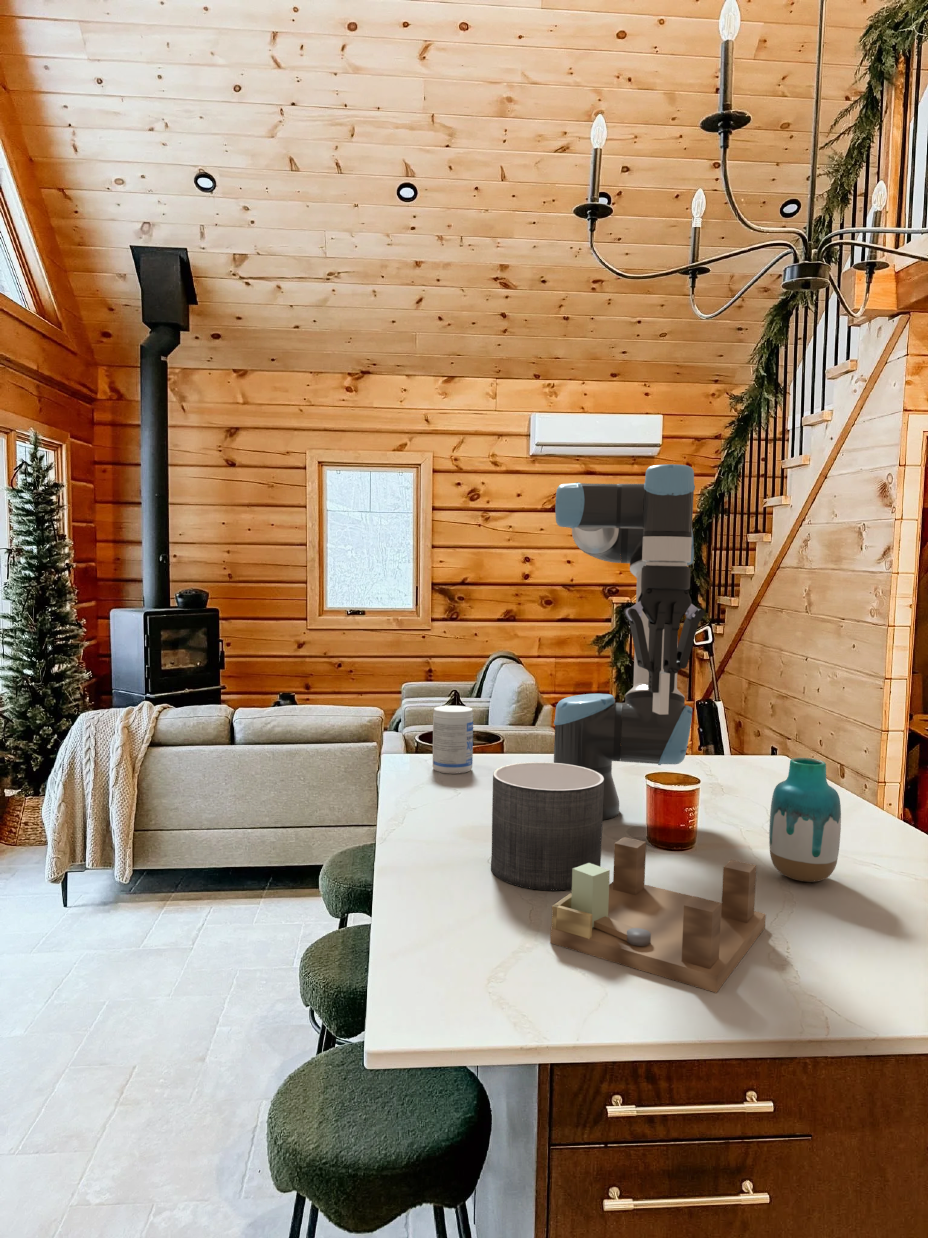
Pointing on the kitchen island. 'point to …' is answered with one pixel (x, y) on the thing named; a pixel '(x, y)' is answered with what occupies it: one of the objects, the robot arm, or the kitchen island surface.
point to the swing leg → (601, 903)
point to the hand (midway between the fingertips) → (660, 712)
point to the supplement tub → (452, 739)
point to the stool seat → (668, 923)
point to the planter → (545, 823)
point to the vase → (805, 823)
